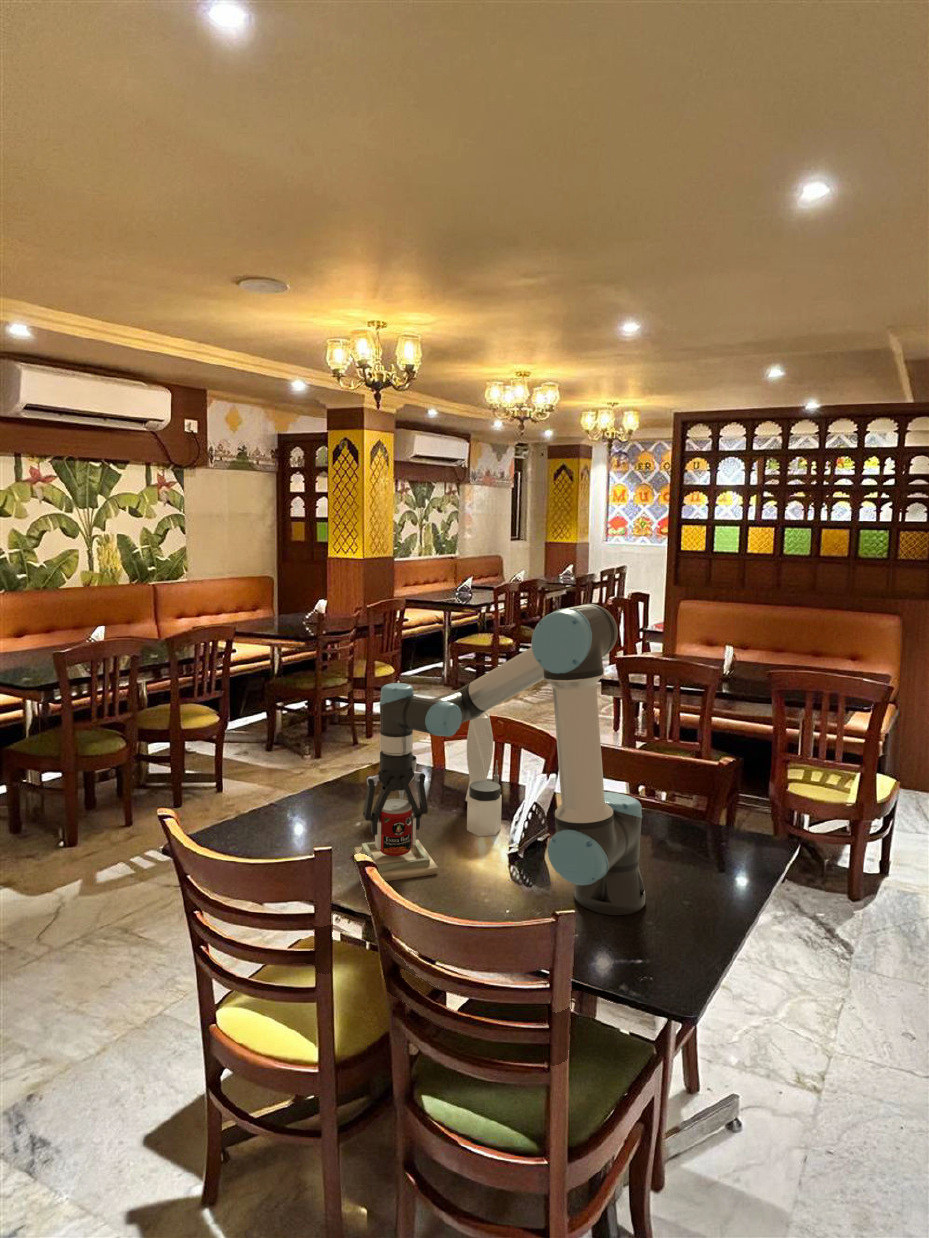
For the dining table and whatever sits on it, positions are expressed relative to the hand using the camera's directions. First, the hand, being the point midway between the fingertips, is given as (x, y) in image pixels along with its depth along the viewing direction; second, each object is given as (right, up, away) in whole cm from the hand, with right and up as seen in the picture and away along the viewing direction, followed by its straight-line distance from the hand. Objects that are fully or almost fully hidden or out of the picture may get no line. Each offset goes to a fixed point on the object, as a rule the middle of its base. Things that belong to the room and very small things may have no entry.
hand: (395, 844), depth 188 cm
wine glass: (-1, 0, +33) cm, 33 cm away
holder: (0, -5, +1) cm, 5 cm away
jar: (+21, -2, +21) cm, 30 cm away
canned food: (0, -1, 0) cm, 1 cm away
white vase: (+20, 0, +41) cm, 46 cm away
